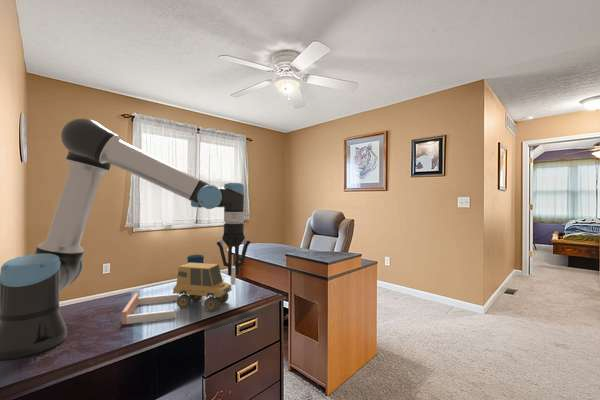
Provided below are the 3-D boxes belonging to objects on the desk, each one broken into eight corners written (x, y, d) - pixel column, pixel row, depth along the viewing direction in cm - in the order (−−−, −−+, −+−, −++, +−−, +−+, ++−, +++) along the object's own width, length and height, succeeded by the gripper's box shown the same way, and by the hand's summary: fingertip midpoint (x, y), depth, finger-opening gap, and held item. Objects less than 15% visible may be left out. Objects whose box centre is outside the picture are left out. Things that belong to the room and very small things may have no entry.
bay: (121, 324, 88) (122, 311, 88) (134, 304, 105) (135, 293, 105) (174, 318, 93) (174, 306, 93) (178, 299, 111) (178, 289, 111)
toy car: (219, 313, 98) (220, 270, 98) (171, 308, 102) (171, 267, 102) (232, 302, 108) (232, 264, 108) (188, 298, 112) (188, 261, 112)
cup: (201, 287, 127) (202, 253, 127) (205, 291, 121) (205, 256, 121) (185, 289, 123) (186, 255, 123) (188, 293, 118) (188, 258, 118)
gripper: (216, 223, 103) (215, 288, 103) (252, 223, 107) (251, 285, 107) (215, 222, 110) (214, 282, 110) (249, 221, 114) (248, 279, 114)
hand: (232, 283), depth 108 cm, fingers closed
